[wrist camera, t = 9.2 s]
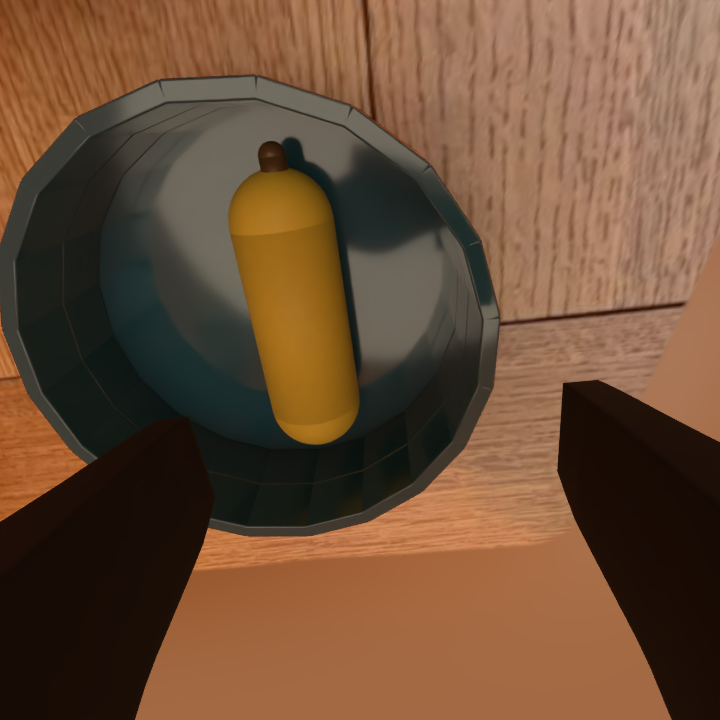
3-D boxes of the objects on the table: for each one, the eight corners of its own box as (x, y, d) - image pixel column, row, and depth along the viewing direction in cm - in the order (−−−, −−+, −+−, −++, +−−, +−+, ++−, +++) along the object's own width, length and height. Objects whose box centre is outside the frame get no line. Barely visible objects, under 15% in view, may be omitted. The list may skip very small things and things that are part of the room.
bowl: (532, 164, 16) (592, 181, 11) (400, 481, 22) (406, 573, 18) (101, 26, 15) (-21, -15, 10) (89, 404, 21) (9, 483, 16)
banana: (336, 404, 20) (381, 436, 18) (267, 436, 19) (306, 475, 16) (290, 136, 16) (342, 130, 13) (194, 150, 14) (234, 146, 12)
